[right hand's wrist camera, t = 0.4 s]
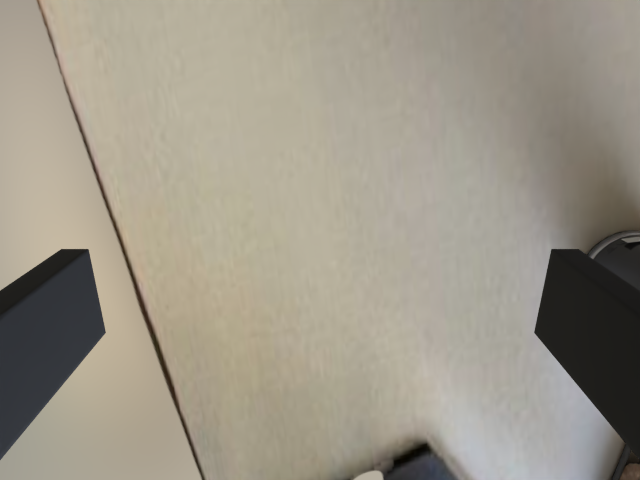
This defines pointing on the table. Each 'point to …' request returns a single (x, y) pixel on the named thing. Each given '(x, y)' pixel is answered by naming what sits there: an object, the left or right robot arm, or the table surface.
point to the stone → (631, 472)
